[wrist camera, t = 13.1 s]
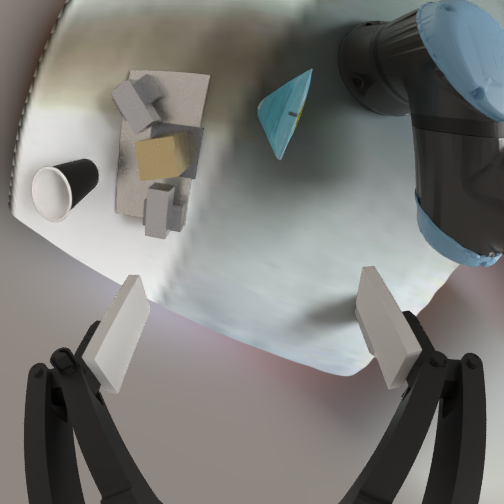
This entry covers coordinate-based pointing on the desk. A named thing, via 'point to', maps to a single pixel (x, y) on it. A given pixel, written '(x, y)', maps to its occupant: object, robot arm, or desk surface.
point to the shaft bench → (151, 124)
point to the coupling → (163, 156)
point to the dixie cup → (63, 187)
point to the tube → (283, 111)
